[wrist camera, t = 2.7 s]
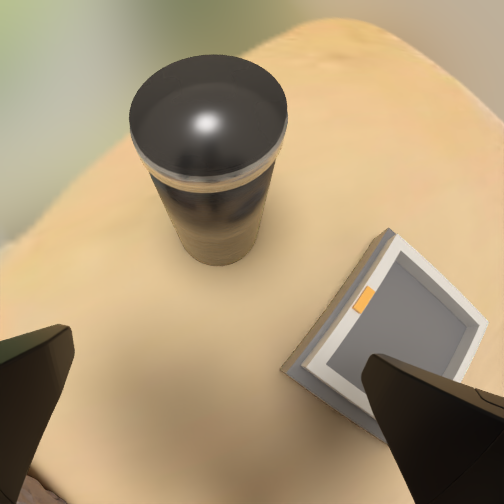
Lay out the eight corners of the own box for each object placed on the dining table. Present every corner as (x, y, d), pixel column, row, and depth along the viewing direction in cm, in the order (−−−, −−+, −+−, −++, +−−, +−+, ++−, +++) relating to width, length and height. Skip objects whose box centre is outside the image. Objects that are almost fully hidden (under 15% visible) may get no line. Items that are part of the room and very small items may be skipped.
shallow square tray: (464, 320, 22) (498, 314, 18) (389, 445, 19) (417, 462, 15) (374, 238, 23) (400, 218, 19) (279, 369, 20) (291, 376, 16)
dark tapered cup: (275, 222, 23) (320, 99, 10) (223, 284, 22) (212, 207, 9) (214, 177, 24) (205, 37, 11) (161, 232, 22) (96, 117, 10)
